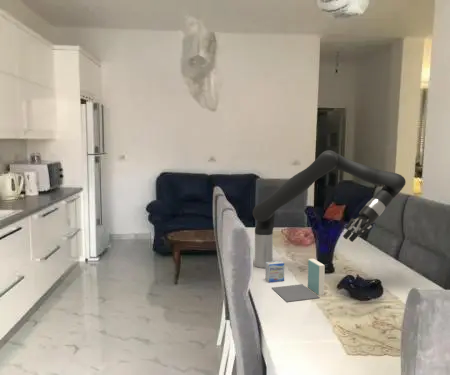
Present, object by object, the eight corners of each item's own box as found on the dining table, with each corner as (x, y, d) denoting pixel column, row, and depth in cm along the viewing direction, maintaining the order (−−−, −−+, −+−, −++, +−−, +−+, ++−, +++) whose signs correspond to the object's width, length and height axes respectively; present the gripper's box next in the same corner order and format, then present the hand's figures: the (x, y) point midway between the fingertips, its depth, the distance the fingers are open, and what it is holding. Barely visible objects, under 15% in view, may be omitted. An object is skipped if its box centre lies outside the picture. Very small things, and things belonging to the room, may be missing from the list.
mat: (271, 288, 184) (271, 287, 184) (302, 285, 188) (302, 284, 188) (286, 302, 168) (286, 301, 168) (319, 298, 172) (319, 297, 172)
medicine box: (268, 282, 191) (268, 264, 190) (265, 279, 195) (265, 261, 194) (284, 281, 193) (284, 263, 192) (280, 277, 197) (280, 260, 196)
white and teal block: (307, 287, 185) (308, 259, 183) (312, 286, 186) (313, 258, 184) (318, 295, 176) (319, 265, 174) (323, 294, 176) (324, 265, 175)
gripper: (358, 202, 190) (333, 230, 188) (377, 207, 176) (351, 237, 174) (367, 213, 192) (343, 240, 190) (387, 219, 178) (362, 248, 176)
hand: (347, 239), depth 182 cm, fingers open, 4 cm apart
